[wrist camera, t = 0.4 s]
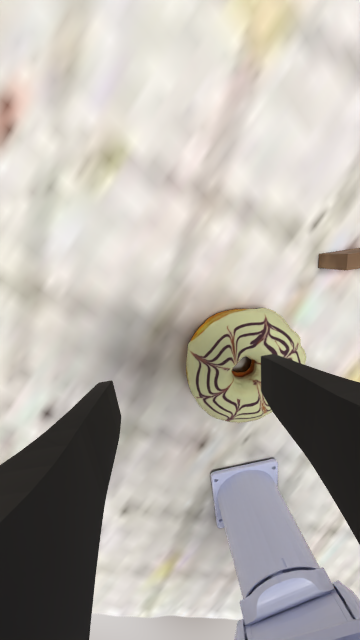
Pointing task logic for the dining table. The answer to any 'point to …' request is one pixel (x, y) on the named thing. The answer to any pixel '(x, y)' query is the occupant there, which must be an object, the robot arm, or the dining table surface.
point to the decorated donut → (226, 351)
